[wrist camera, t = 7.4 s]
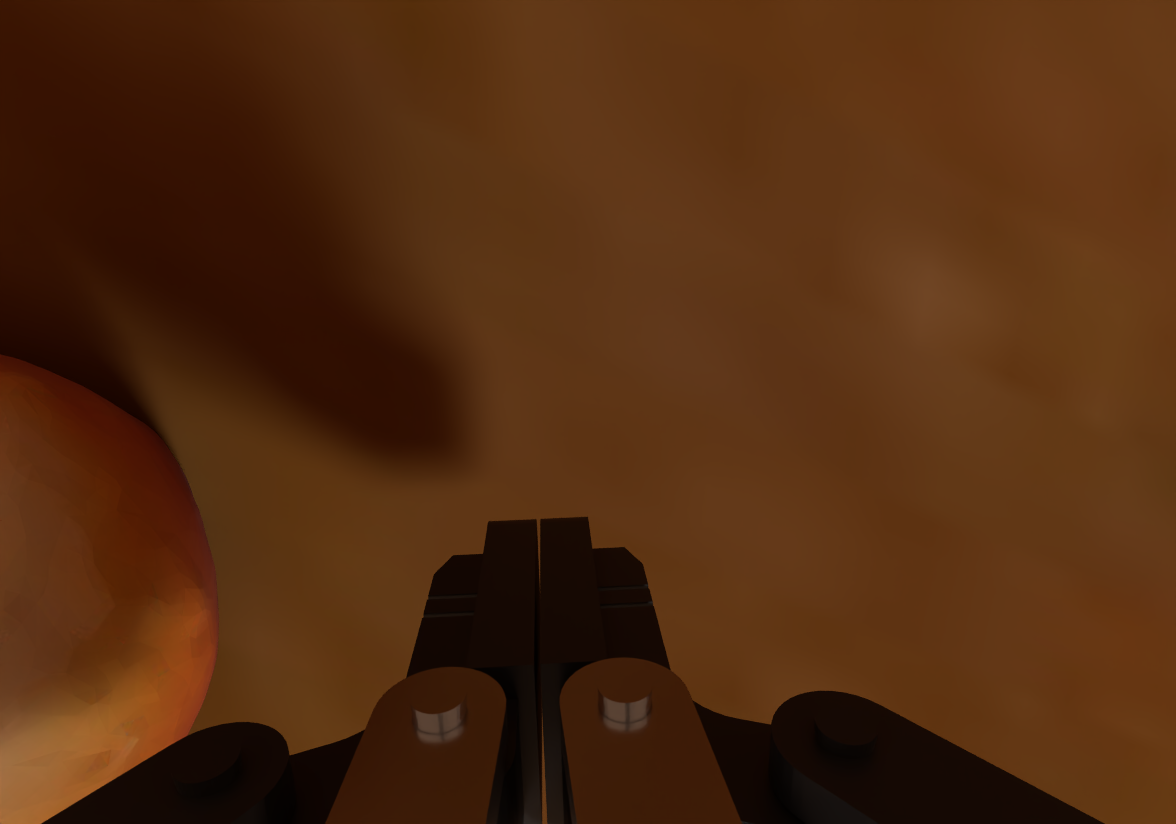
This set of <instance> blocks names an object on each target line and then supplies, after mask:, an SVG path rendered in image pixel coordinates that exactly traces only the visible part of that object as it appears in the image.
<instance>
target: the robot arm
mask: <svg viewBox="0 0 1176 824" xmlns="http://www.w3.org/2000/svg"><path fill="white" fill-rule="evenodd" d="M542 715H543V736H544V758H545V780H546V802H547V823H548V824H1104V823H1102V822H1100V821H1099V820H1097V819H1095V818H1093V817H1091V816H1089V815H1087V814H1085V813H1083V812H1081V811H1080V810H1078V809H1076V808H1074V807H1072V806H1070V805H1068V804H1066V803H1064V802H1063V801H1061V800H1059V799H1057V798H1055V797H1053V796H1051V795H1049V794H1047V793H1046V792H1044V791H1042V790H1040V789H1038V788H1036V787H1034V786H1032V785H1030V784H1029V783H1027V782H1025V781H1023V780H1021V779H1019V778H1017V777H1015V776H1013V775H1011V774H1010V773H1008V772H1006V771H1004V770H1002V769H1000V768H998V767H996V766H994V765H993V764H991V763H989V762H987V761H985V760H983V759H981V758H979V757H977V756H976V755H974V754H972V753H970V752H968V751H966V750H964V749H962V748H960V747H959V746H957V745H955V744H953V743H951V742H949V741H947V740H945V739H943V738H941V737H940V736H938V735H936V734H934V733H932V732H930V731H928V730H926V729H924V728H923V727H921V726H919V725H917V724H915V723H913V722H911V721H909V720H907V719H906V718H904V717H902V716H900V715H898V714H896V713H894V712H892V711H890V710H889V709H887V708H885V707H883V706H881V705H879V704H877V703H875V702H872V701H870V700H868V699H865V698H862V697H859V696H856V695H852V694H848V693H843V692H836V691H814V692H807V693H803V694H799V695H797V696H794V697H792V698H790V699H789V700H787V701H785V702H784V703H783V704H782V705H781V706H780V707H779V708H778V709H777V711H776V712H775V714H774V716H773V720H772V723H771V725H770V724H764V723H759V722H753V721H748V720H742V719H737V718H733V717H728V716H724V715H722V714H719V713H716V712H713V711H711V710H709V709H707V708H705V707H702V706H701V705H699V704H698V703H696V702H694V701H693V700H692V698H691V696H690V693H689V691H688V689H687V687H686V685H685V684H684V682H683V681H682V680H681V679H680V678H679V677H678V676H677V675H676V674H675V673H673V672H672V671H671V670H670V666H669V662H668V658H667V655H666V651H665V647H664V643H663V639H662V635H661V632H660V628H659V624H658V620H657V616H656V613H655V609H654V606H653V601H652V597H651V594H650V590H649V589H648V582H647V578H646V575H645V571H644V567H643V564H642V563H641V562H640V561H639V560H638V559H637V558H636V557H634V556H633V555H632V554H631V553H630V552H629V551H628V550H627V549H626V548H624V547H619V548H598V549H592V543H591V536H590V529H589V522H588V517H574V518H551V519H540V582H539V560H538V537H537V521H536V519H532V520H509V521H489V522H488V526H487V533H486V539H485V546H484V552H483V554H472V555H453V556H452V557H451V558H450V559H449V560H448V561H447V562H446V563H445V564H444V565H443V566H442V567H441V568H440V569H439V570H438V571H437V572H436V573H435V574H434V576H433V580H432V584H431V588H430V591H429V595H428V600H427V602H426V606H425V610H424V618H422V621H421V625H420V628H419V632H418V636H417V640H416V643H415V647H414V651H413V654H412V658H411V662H410V666H409V669H408V673H407V677H406V678H405V679H403V680H402V681H400V682H398V683H397V684H395V685H394V686H392V687H391V688H390V689H389V690H388V691H387V692H386V693H384V694H383V696H382V697H381V698H380V699H379V701H378V702H377V704H376V706H375V708H374V709H373V712H372V714H371V717H370V719H369V721H368V724H367V726H366V728H365V730H363V731H361V732H359V733H357V734H355V735H353V736H351V737H348V738H346V739H343V740H340V741H337V742H335V743H331V744H328V745H324V746H321V747H318V748H314V749H311V750H307V751H304V752H300V753H297V754H294V755H290V756H289V750H288V746H287V742H286V741H285V739H284V737H283V736H282V735H281V734H280V733H279V732H278V731H277V730H275V729H273V728H271V727H269V726H266V725H263V724H259V723H251V722H235V723H227V724H221V725H217V726H213V727H209V728H206V729H203V730H200V731H197V732H195V733H193V734H191V735H188V736H186V737H184V738H182V739H180V740H178V741H177V742H175V743H173V744H171V745H169V746H168V747H166V748H164V749H163V750H161V751H160V752H158V753H156V754H155V755H153V756H151V757H150V758H148V759H146V760H145V761H143V762H141V763H140V764H138V765H137V766H135V767H133V768H132V769H130V770H128V771H127V772H125V773H123V774H122V775H120V776H118V777H117V778H115V779H113V780H112V781H110V782H109V783H107V784H105V785H104V786H102V787H100V788H99V789H97V790H95V791H94V792H92V793H90V794H89V795H87V796H85V797H84V798H82V799H81V800H79V801H77V802H76V803H74V804H72V805H71V806H69V807H67V808H66V809H64V810H62V811H61V812H59V813H57V814H56V815H54V816H53V817H51V818H49V819H48V820H46V821H44V822H43V823H41V824H542Z"/></svg>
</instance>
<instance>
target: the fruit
mask: <svg viewBox="0 0 1176 824" xmlns="http://www.w3.org/2000/svg"><path fill="white" fill-rule="evenodd" d="M218 632H219V613H218V598H217V583H216V572H215V566H214V562H213V558H212V555H211V551H210V547H209V544H208V541H207V537H206V534H205V530H204V526H203V521H202V518H201V515H200V512H199V509H198V507H197V505H196V503H195V500H194V498H193V495H192V491H191V489H190V486H189V483H188V481H187V478H186V476H185V475H184V473H183V471H182V469H181V467H180V466H179V464H178V462H177V461H176V459H175V458H174V456H173V455H172V453H171V452H170V450H169V449H168V447H167V445H166V444H165V442H164V441H163V440H162V439H161V438H160V437H159V436H158V434H157V433H156V432H155V431H153V430H152V429H151V428H150V427H149V426H147V425H146V424H145V423H143V422H142V421H140V420H138V419H137V418H135V417H133V416H132V415H130V414H129V413H127V412H125V411H124V410H122V409H121V408H119V407H117V406H116V405H114V404H113V403H111V402H110V401H108V400H106V399H105V398H103V397H101V396H99V395H98V394H96V393H94V392H92V391H91V390H89V389H87V388H85V387H84V386H82V385H79V384H77V383H75V382H73V381H70V380H68V379H66V378H64V377H61V376H59V375H57V374H55V373H52V372H50V371H48V370H46V369H43V368H40V367H38V366H35V365H33V364H30V363H28V362H25V361H22V360H19V359H16V358H13V357H9V356H5V355H0V824H41V823H43V822H44V821H46V820H48V819H49V818H51V817H53V816H54V815H56V814H57V813H59V812H61V811H62V810H64V809H66V808H67V807H69V806H71V805H72V804H74V803H76V802H77V801H79V800H81V799H82V798H84V797H85V796H87V795H89V794H90V793H92V792H94V791H95V790H97V789H99V788H100V787H102V786H104V785H105V784H107V783H109V782H110V781H112V780H113V779H115V778H117V777H118V776H120V775H122V774H123V773H125V772H127V771H128V770H130V769H132V768H133V767H135V766H137V765H138V764H140V763H141V762H143V761H145V760H146V759H148V758H150V757H151V756H153V755H155V754H156V753H158V752H160V751H161V750H163V749H164V748H166V747H168V746H169V745H171V744H173V743H175V742H177V741H178V740H180V739H182V738H184V737H186V736H187V735H188V733H189V731H190V729H191V727H192V725H193V723H194V721H195V719H196V716H197V714H198V712H199V710H200V708H201V706H202V704H203V701H204V699H205V696H206V694H207V690H208V687H209V684H210V680H211V677H212V674H213V671H214V667H215V662H216V658H217V648H218Z"/></svg>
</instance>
